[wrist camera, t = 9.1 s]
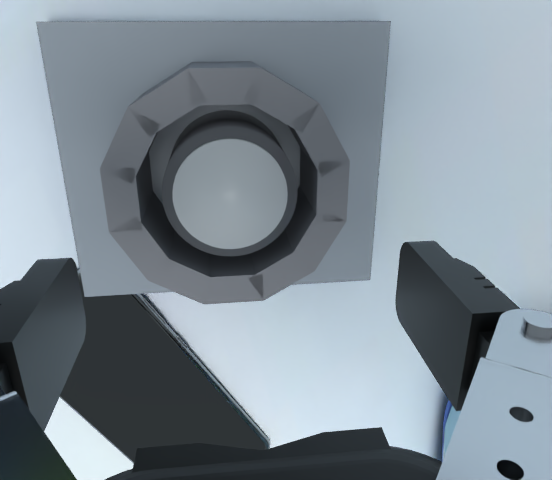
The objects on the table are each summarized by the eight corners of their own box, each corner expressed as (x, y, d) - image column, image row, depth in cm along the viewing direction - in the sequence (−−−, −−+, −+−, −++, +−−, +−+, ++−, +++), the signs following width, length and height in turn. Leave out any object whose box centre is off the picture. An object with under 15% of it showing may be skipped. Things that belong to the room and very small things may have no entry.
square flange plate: (379, 22, 22) (429, 18, 17) (361, 267, 26) (397, 322, 21) (48, 22, 20) (-7, 19, 15) (91, 282, 25) (61, 345, 20)
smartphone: (177, 506, 31) (-17, 333, 24) (178, 491, 32) (-8, 321, 25) (276, 450, 30) (103, 256, 24) (274, 437, 31) (107, 247, 25)
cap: (283, 108, 21) (299, 126, 17) (283, 218, 23) (297, 255, 19) (165, 111, 21) (154, 129, 17) (175, 222, 23) (167, 262, 19)
